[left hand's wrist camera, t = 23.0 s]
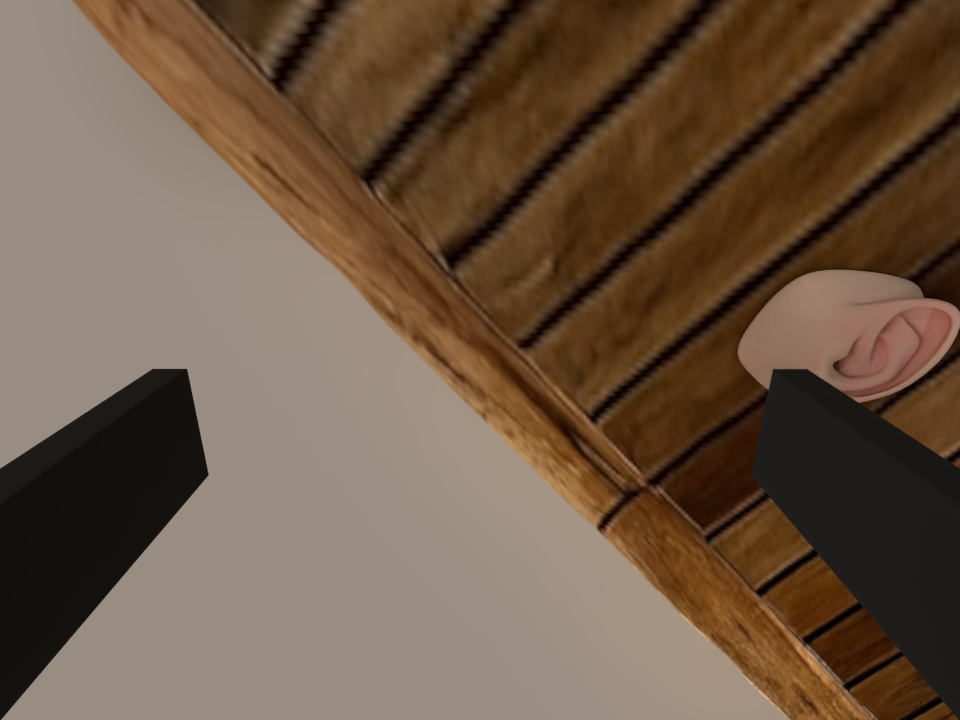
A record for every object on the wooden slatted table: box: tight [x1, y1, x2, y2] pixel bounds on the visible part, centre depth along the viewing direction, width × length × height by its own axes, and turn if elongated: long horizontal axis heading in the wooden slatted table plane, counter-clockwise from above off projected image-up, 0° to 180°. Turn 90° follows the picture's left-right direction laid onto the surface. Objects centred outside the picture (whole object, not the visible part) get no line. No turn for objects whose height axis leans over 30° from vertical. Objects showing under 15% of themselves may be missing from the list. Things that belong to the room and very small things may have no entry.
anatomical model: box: [738, 270, 960, 403], centre depth 41 cm, size 13×4×12 cm
